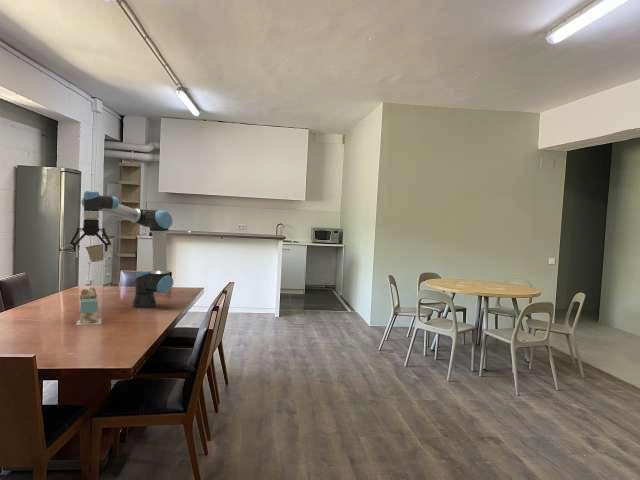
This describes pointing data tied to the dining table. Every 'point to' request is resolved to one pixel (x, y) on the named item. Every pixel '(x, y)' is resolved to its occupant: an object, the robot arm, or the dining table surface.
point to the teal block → (89, 305)
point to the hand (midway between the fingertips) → (90, 257)
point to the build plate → (89, 323)
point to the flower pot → (95, 252)
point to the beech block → (89, 317)
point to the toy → (88, 294)
